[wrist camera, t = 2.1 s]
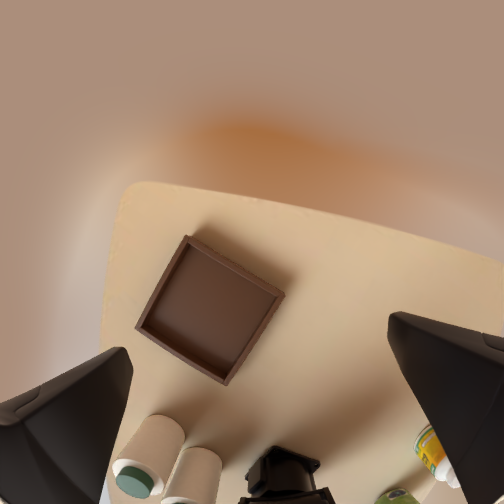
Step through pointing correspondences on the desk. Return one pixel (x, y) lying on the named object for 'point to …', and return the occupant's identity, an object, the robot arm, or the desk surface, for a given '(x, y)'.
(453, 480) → the supplement bottle
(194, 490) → the white bottle
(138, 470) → the white bottle
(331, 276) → the desk surface
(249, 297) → the tray
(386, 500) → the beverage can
